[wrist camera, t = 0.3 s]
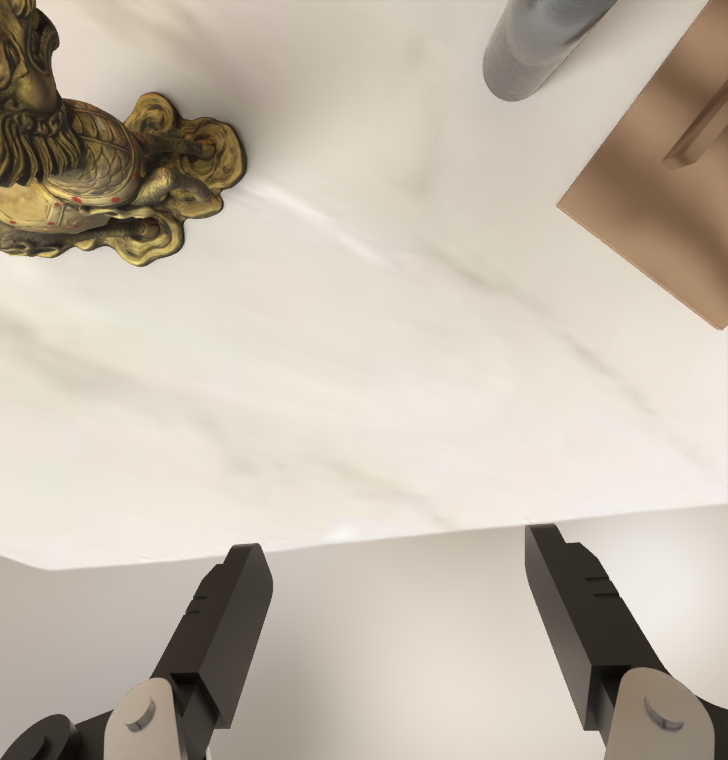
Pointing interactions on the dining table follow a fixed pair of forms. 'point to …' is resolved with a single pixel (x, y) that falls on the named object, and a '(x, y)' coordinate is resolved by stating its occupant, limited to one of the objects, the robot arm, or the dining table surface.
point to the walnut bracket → (670, 174)
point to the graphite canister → (536, 42)
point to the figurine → (98, 159)
